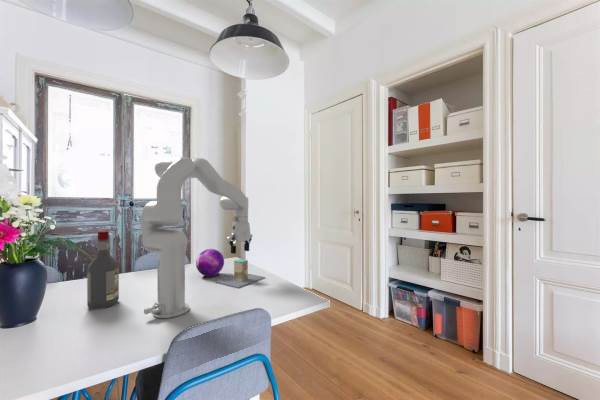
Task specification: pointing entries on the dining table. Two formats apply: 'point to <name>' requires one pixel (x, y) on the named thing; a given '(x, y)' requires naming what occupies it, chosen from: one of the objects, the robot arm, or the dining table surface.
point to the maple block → (240, 270)
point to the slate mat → (238, 284)
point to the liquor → (102, 276)
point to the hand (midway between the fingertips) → (240, 252)
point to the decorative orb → (210, 262)
